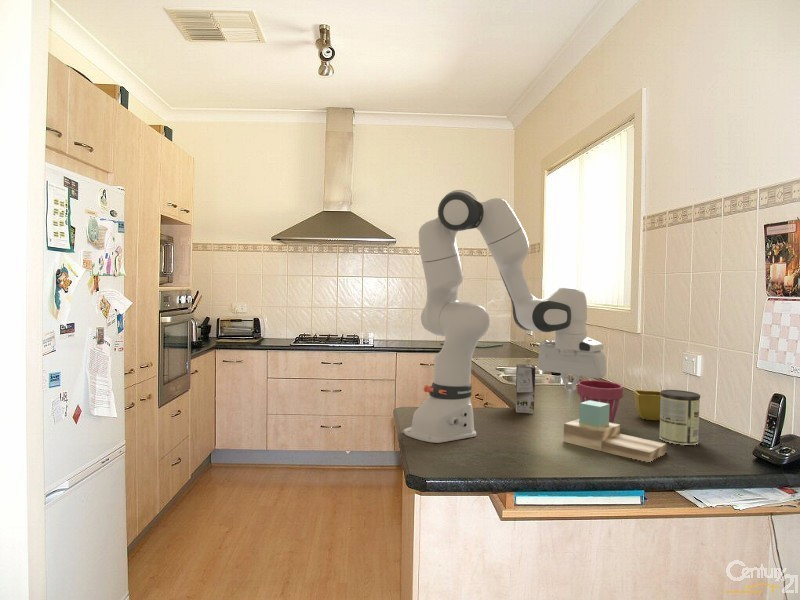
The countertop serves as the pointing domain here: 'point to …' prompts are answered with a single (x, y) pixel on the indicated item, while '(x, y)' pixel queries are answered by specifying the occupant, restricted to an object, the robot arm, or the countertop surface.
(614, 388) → the plant pot
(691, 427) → the coffee can
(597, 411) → the teal cube
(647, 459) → the stair
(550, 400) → the countertop surface
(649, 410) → the flower pot
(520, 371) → the coffee box
